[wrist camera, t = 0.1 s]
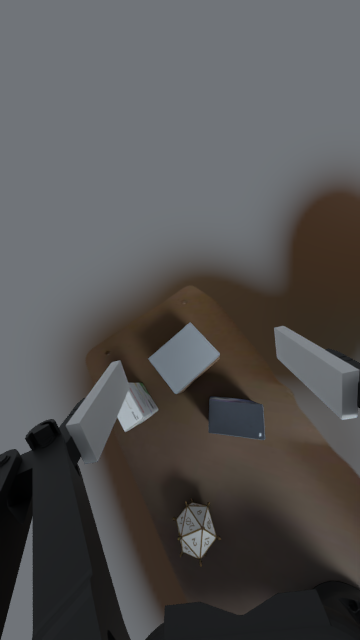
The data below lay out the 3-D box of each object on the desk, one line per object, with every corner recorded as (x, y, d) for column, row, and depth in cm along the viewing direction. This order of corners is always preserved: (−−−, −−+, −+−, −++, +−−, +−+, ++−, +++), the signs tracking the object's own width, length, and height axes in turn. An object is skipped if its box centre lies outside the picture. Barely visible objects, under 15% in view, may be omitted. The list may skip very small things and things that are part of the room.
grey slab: (218, 356, 46) (219, 353, 41) (178, 393, 44) (175, 394, 40) (191, 327, 49) (190, 322, 44) (154, 361, 48) (148, 358, 43)
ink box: (127, 393, 51) (104, 396, 40) (142, 381, 51) (123, 381, 40) (144, 421, 48) (124, 433, 37) (159, 409, 48) (144, 417, 37)
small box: (252, 398, 46) (264, 403, 36) (253, 428, 44) (266, 442, 34) (209, 394, 47) (209, 398, 38) (208, 423, 45) (208, 434, 36)
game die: (189, 506, 44) (156, 523, 37) (209, 481, 42) (177, 494, 36) (213, 560, 37) (176, 592, 31) (237, 533, 36) (204, 561, 29)
